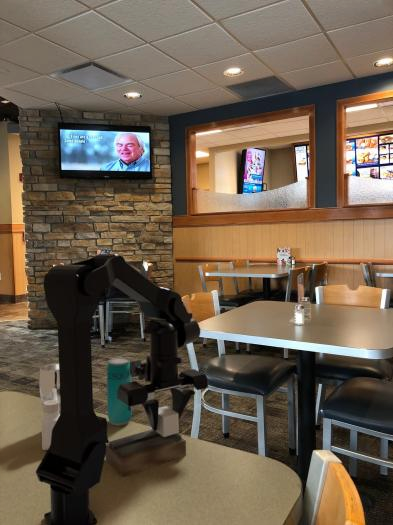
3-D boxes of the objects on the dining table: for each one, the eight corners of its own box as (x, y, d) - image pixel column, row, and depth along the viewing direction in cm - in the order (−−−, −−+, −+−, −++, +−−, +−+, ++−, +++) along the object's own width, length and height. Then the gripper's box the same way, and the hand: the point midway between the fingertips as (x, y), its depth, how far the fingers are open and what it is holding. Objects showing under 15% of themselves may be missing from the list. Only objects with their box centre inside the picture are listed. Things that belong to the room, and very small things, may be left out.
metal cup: (34, 433, 98) (32, 368, 98) (56, 422, 104) (55, 361, 104) (56, 440, 95) (54, 372, 94) (78, 428, 101) (77, 364, 100)
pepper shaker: (42, 443, 93) (41, 400, 93) (62, 440, 95) (61, 398, 94) (42, 451, 90) (40, 406, 89) (62, 448, 91) (61, 404, 90)
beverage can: (127, 427, 101) (126, 364, 100) (104, 426, 102) (102, 363, 101) (135, 417, 107) (134, 357, 106) (113, 416, 108) (112, 357, 107)
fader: (166, 428, 92) (165, 405, 92) (178, 437, 88) (178, 413, 88) (151, 433, 90) (151, 409, 90) (163, 442, 86) (163, 417, 86)
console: (165, 440, 94) (165, 423, 94) (186, 455, 88) (185, 436, 87) (105, 459, 86) (105, 440, 86) (122, 476, 80) (122, 456, 79)
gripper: (181, 339, 100) (182, 405, 101) (105, 351, 90) (107, 425, 91) (209, 348, 91) (210, 421, 92) (128, 363, 81) (130, 445, 81)
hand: (164, 427), depth 89 cm, fingers open, 5 cm apart
